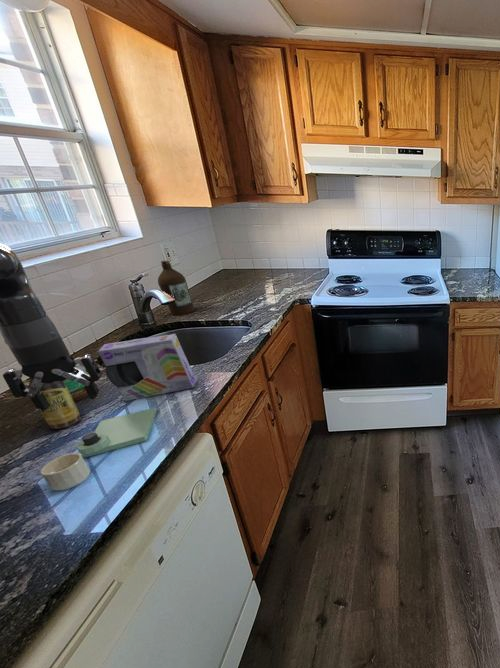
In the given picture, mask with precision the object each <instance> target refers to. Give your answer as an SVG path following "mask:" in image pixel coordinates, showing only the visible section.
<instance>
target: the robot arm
mask: <svg viewBox="0 0 500 668" xmlns="http://www.w3.org/2000/svg"><path fill="white" fill-rule="evenodd" d="M0 335H1V337H2V338H3V340H4V344H6V345H7V347H8V348H9V349H10V352H11V354H12V355H13V356H14V358H15V359H16V362H17V363H18V365H20V366H21V368H18V369H16V368H14V367H10V368H8V370H6V371H5V372H4V373H3V374H2V377H3V379H4V381H5V383H6V384H7V387H8V388H9V390H10V392H11V393H12V395H13V397H14V398H17V399H18V398H21V397H22V398H23V397H27V398H29V399H30V400H31V402H32V404H33V405H34V407H35V408H36V409H38V410H40V409H41V410H42V411H43V410H47V409H48V408H49V406H50V404H49V402H48V401H47V399H46V397H45V396H44V394H43V392H39V390H40V388H41V386H42V384H43V383H46V384H49V383H52V382H55V381H63V380H66V379H69V380H71V381H73V382H79V383H81V384H83V385H85V386H84V388H85V390H86V392H87V394H88V398H89V399H90V400H95V399H96V398H97V397H98V395H99V393H100V390H99V388H98V386H97V384H96V382H98V381H100V379H101V377H102V376H103V373H102V371H101V369H100V367H99V366H98V364H97V362H96V361H95V359H94V357H93V356H92V354H90V353H86V354H84V356H80V357H73V356H72V355H71V353H70V352H69V349H68V348H67V345H66V343H65V342H64V340H63V338H62V336H61V334H60V332H59V331H58V329H57V327H56V325H55V324H54V322H53V320H52V319H51V318H50V317H49V315H48V314H47V312H46V310H45V308H44V306H43V305H42V303H41V301H40V299H39V297H38V296H37V295H36V293H35V291H34V290H33V288H32V286H31V283H30V281H29V278H28V276H27V273H26V270H25V269H24V265H23V264H22V261H21V260H20V258H19V256H18V255H17V253H16V251H14V250H12V249H11V248H10V247H8V246H7V245H5V244H3V243H0ZM76 364H80V365H81V366H82V367H85V370H86V373H87V374H85V373H84V372H83V371H82V370H80V369H78V368H75V365H76ZM72 373H73V374H72ZM74 374H75V375H74ZM23 376H25V377H27V378H29V379H30V378H32V379H33V381H32V383H31V385H30V387H29V388H28V387H27V386H26V385H25V383H24V380H23V379H22V378H23ZM41 410H40V411H41Z"/></svg>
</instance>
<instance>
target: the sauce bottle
mask: <svg viewBox="0 0 500 668" xmlns="http://www.w3.org/2000/svg"><path fill="white" fill-rule="evenodd" d="M32 381H33V379H32V378H30V377H29V382H28V386H29V387H30V385H31V383H32ZM39 392H43V394H44V396H45V397H46V399H47V401H48V402H49V404H50V406H49V408H48V409H47V410H43V411H42V410H41V409H39V411H40V412H41V414H42V417H43V419H44V421H46V423H47V425H48V426H49V427H50V429H51V430H61V429H65V428H68V427H71V426H73V425H75V424H77V423H78V422H79V421H80V420H81V415H80V411H79V409H78V407H77V405H76V403H75V402H74V401H73V399H72V397H71V395H70V393H69V391H68V389H67V387H66V386H65V384H64V382H63V381H55V382H52V383H49V384H46V383H43V384H42V386H41V388H40V390H39Z"/></svg>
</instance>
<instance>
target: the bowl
mask: <svg viewBox="0 0 500 668" xmlns="http://www.w3.org/2000/svg"><path fill="white" fill-rule="evenodd" d="M39 472H40V475H41V476H42V477H43V479H44V481H45V482H46V484H47V485H48V486H49V488H50V489H51V490H53V491H65V490H66V491H67V490H69V489H72V488H75V487H76V486H78V485H80V484H81V483H84V481H86V480H87V479H88V478H89V476H90V474H91V472H92V471H91V468H90V467H89V464H88V463H87V461H86V460H85V457H84V456H83V454H81V453H80V452H71V453H66V454H63V455H60V456H59V457H56V458H54V459H52V460H51V461H49V462H47V463H45V465H43V466H42V468H41V469H40V471H39Z"/></svg>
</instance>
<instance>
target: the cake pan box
mask: <svg viewBox="0 0 500 668" xmlns="http://www.w3.org/2000/svg"><path fill="white" fill-rule="evenodd" d="M97 353H98V355H99V357H100V358H101V361H102V362H103V364H104V365H105V368H104V369H105V374H106V377H107V379H108V380H109V382H110V383H111V384H112V385H114V387H116V388H117V389H118V391H119V393H120V394H121V396H122V398H123V400H124V401H125V402H126V401H132V400H138V399H143V398H147V397H152V396H153V397H154V396H157V395H163V394H168V393H173V392H179V391H184V390H188V389H193V388H194V386H195V385H196V383H197V379H196V376H195V374H194V372H193V370H192V367H191V366H190V363H189V361H188V358H187V356H186V354H185V352H184V350H183V347H182V345H181V343H180V341H179V339H178V336H177V334H176V333H172V334H166V335H159V336H158V335H157V336H151V337H141V338H134V339H130V340H124V341H117V342H110V343H104V344H103V345H102V346H101V347H100V348H99V349H98V350H97Z"/></svg>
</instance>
